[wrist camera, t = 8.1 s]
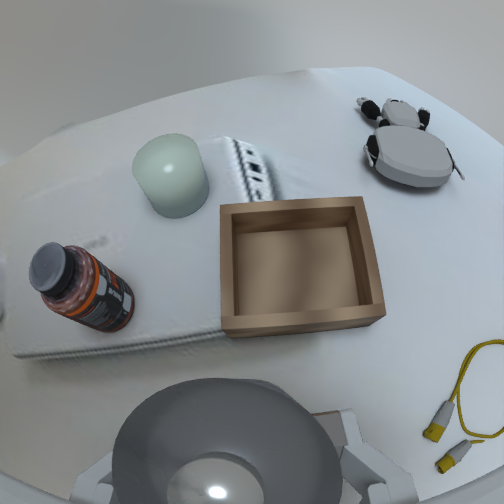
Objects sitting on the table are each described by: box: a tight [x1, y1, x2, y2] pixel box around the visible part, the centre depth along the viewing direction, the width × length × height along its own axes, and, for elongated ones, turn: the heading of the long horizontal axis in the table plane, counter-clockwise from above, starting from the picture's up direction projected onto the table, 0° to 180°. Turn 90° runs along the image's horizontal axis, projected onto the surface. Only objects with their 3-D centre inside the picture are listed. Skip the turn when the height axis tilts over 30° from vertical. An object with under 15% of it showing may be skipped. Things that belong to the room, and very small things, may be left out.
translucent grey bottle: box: [112, 378, 342, 504], centre depth 10 cm, size 5×5×12 cm
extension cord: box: [424, 339, 504, 474], centre depth 23 cm, size 12×16×2 cm
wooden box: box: [220, 196, 386, 338], centre depth 28 cm, size 13×11×5 cm
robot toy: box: [356, 98, 465, 187], centre depth 34 cm, size 12×4×15 cm
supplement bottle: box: [29, 242, 134, 332], centre depth 25 cm, size 6×6×11 cm
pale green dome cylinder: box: [132, 134, 209, 218], centre depth 32 cm, size 7×7×6 cm
